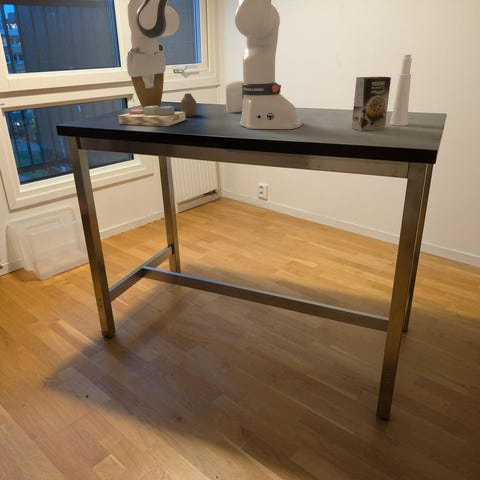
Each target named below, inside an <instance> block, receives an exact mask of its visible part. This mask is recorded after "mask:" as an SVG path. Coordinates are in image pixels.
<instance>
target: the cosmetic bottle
mask: <svg viewBox="0 0 480 480" xmlns="http://www.w3.org/2000/svg"><path fill="white" fill-rule="evenodd" d="M412 59H413V58H412V54H403V58H402V59H401V61H402V62H401V69H400V70H401V71H400V73H399V74H398V75H399V76H398V80H397V85H396V86H397V87H396V92H395V97H394V103H393V108H392V112H391V117H390V121H389V125H391V126H396V127H402V126H409V102H410V91H411V90H410V89H411V79H412V77H411V76H412V74H410V73H411V69H412Z"/></svg>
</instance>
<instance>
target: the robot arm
mask: <svg viewBox="0 0 480 480" xmlns="http://www.w3.org/2000/svg"><path fill="white" fill-rule="evenodd" d="M168 3H169V0H128V2H127V20H128V26H129V30H130V43H131V48H129V49H128V52H127V56H126V63H127V64H126V65H127V66H126V67H127V74H128V76H129V77H130V78H131V77H138V76H142V79H143V81H144V83H145V87H146V88H152V87H154V86H153V81H154V74H158V73H164V74H165V72H166V58H165V53H164V52H165V47H164V45H163V44H162V43H160V42H158V41H157V38H160V37H169V36H172V35H175V34H176V33H177V32H178V31H179V29H180V25H181V20H180V19H181V18H180V15H179V13H178V11H177V10H176V9H175V8H173V7H171V6H169V5H168ZM236 7H237V8H236V11H235V14H234V24H235V27H236V29H237V30H238V32H239V33H240V34H241V35H242V36H244V37H245V38H246V40H245V43H246V44H245V48H244V54H243V57H242V81H243V83H242V98H243V109H242V112H241V117H240V122H239V125H240V126H242V127H244V128H247V129H250V130H252V129H254V130H292V129H297V128H299V127H302V126H303V124H304V123H303V120H302V119H299V118H297V117H298V116H297V110H296V107H295V105H294V104H293V103H292V102H290V101H289V100H288V99H287V98H286V97H284V96H283V95H282V94H281V89H282V84H279V83H278V82H276V57H277V56H276V55H277V53H276V52H277V46H278V39H279V38H278V37H279V29H280V24H281V17H280V13H279V11H278V10H277V8H276V6H274V5H273V4H272V0H237V6H236ZM148 78H149V79H148Z"/></svg>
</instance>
